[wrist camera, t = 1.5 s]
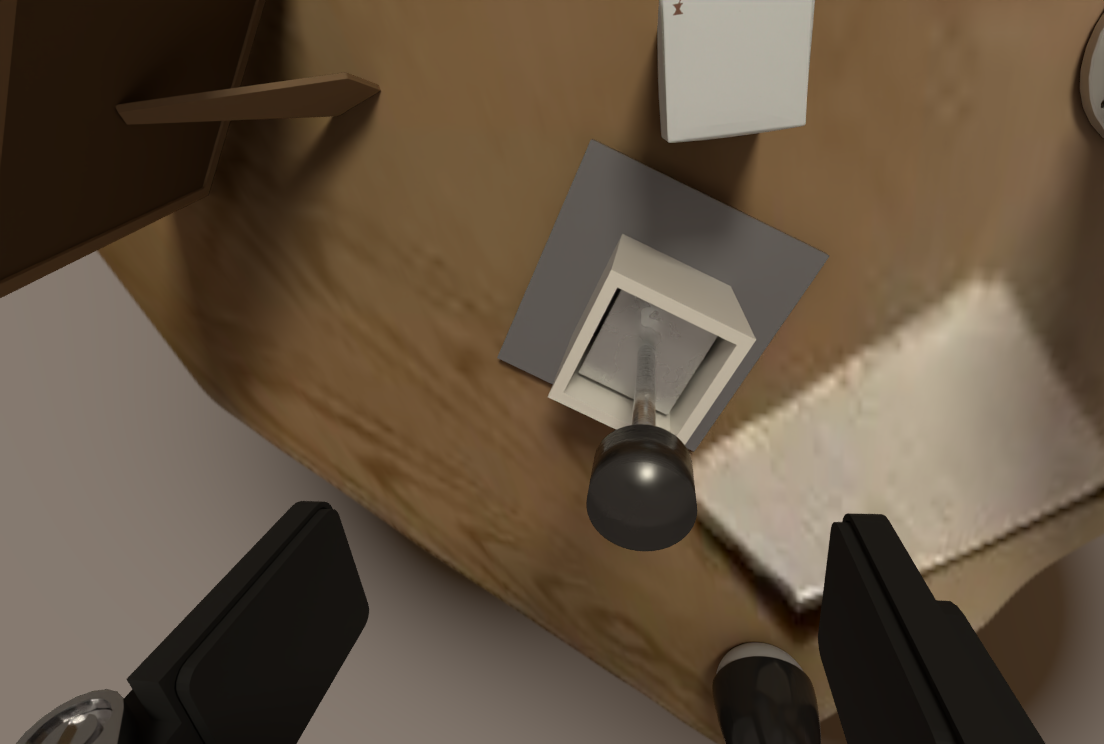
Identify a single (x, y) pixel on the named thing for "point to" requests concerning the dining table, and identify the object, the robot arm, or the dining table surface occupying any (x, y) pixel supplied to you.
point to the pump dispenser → (765, 698)
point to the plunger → (644, 426)
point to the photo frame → (125, 117)
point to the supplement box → (732, 66)
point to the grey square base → (655, 286)
